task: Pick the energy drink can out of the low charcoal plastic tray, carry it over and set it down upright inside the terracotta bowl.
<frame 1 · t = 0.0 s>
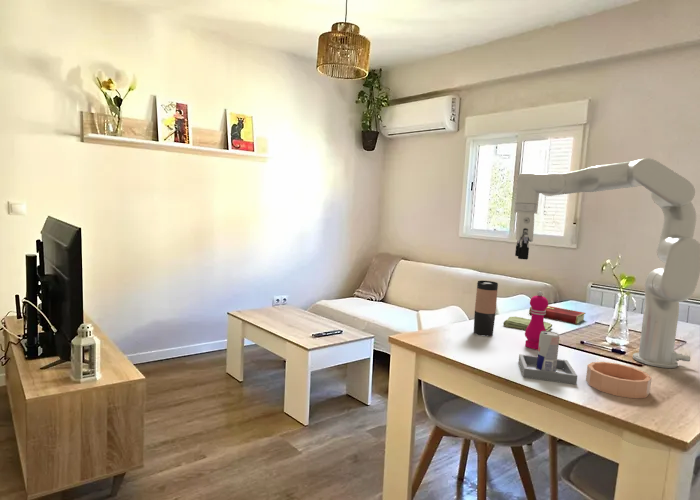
hand: (521, 257, 162), 31 cm above the table, tool pointing down, fingers open, 9 cm apart
hardcover book: (556, 318, 214), on the table
energy drink: (545, 373, 137), resting in parts tray
washcloth: (527, 328, 192), on the table
pepper mill: (534, 347, 163), on the table
travel mug: (483, 334, 177), on the table
parts tray: (545, 372, 137), on the table
bowl: (616, 386, 129), on the table
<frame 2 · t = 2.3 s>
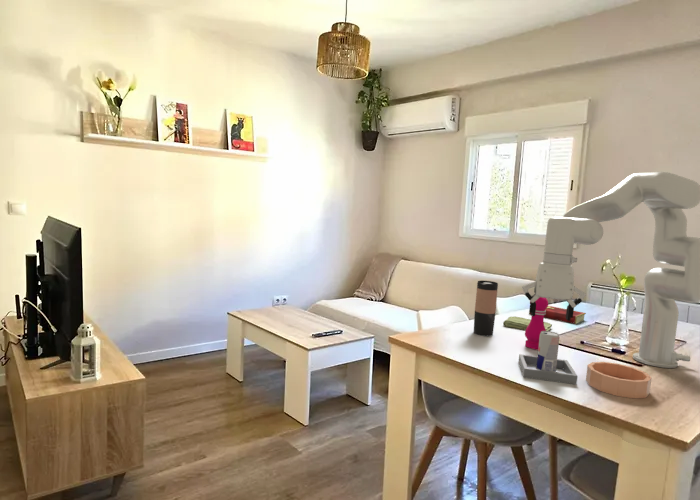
hand: (550, 317, 136), 17 cm above the table, tool pointing down, fingers open, 9 cm apart
nothing on the table moved.
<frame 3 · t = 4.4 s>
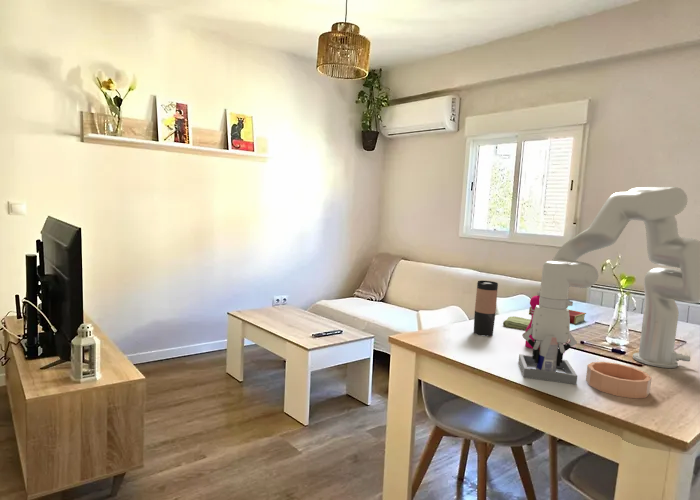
hand: (546, 362, 137), 3 cm above the table, tool pointing down, fingers closed on energy drink, 5 cm apart
energy drink: (545, 373, 138), resting in parts tray, touching gripper
everything else where it was.
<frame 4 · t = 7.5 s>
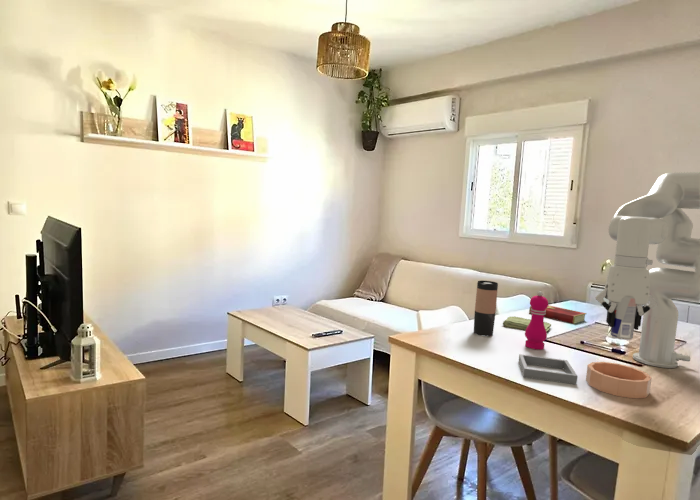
hand: (622, 326, 128), 17 cm above the table, tool pointing down, fingers closed on energy drink, 5 cm apart
energy drink: (621, 337, 128), point 14 cm above the table, touching gripper
when the fingers open (5 cm above the table, at t = 10.6 s): energy drink drops 1 cm, resting on bowl.
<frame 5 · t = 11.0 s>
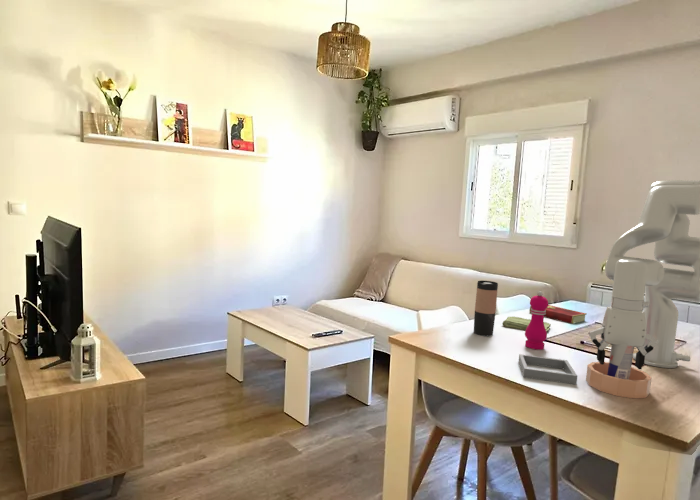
hand: (619, 365, 129), 6 cm above the table, tool pointing down, fingers open, 9 cm apart
energy drink: (617, 383, 129), point 1 cm above the table, touching bowl
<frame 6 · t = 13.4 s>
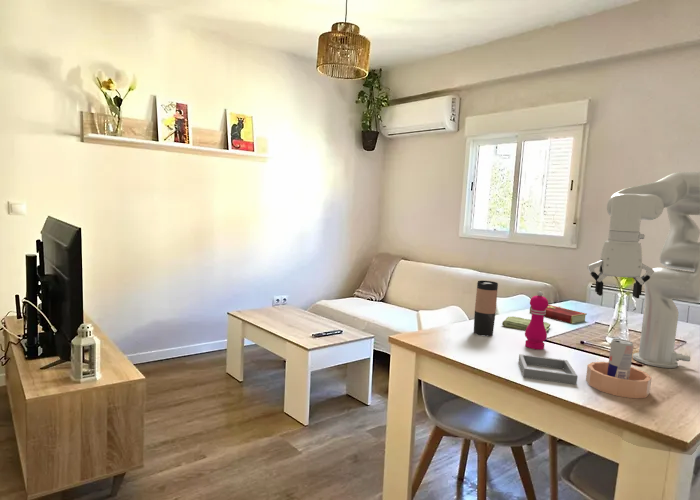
hand: (617, 296, 134), 24 cm above the table, tool pointing down, fingers open, 9 cm apart
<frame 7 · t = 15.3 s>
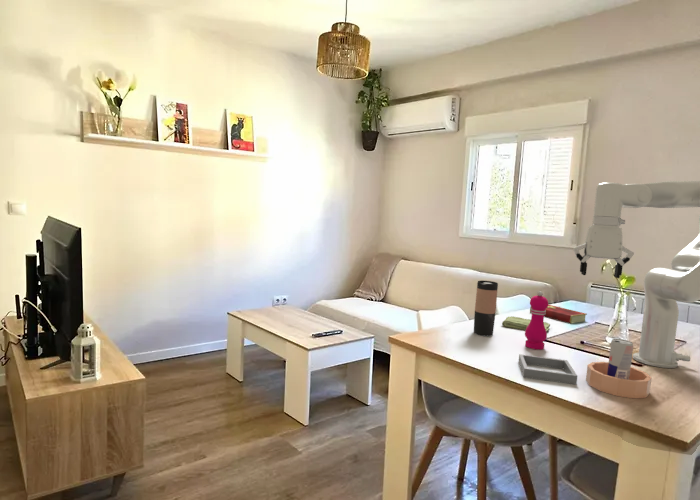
hand: (599, 276, 147), 28 cm above the table, tool pointing down, fingers open, 9 cm apart
at the end: energy drink inside the target area on the bowl (0.1 cm from its centre), point 0.8 cm above the bowl's base; energy drink tilted 0°; the gripper is holding nothing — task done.
